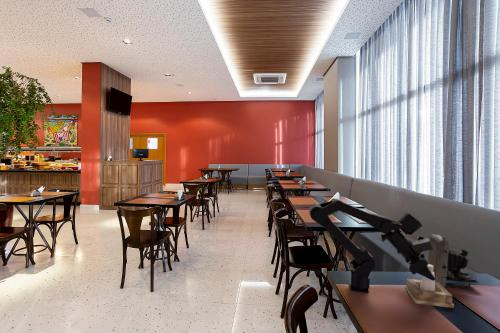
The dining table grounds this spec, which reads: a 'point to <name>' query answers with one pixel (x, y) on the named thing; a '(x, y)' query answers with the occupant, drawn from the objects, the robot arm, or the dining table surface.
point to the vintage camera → (447, 262)
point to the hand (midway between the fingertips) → (433, 277)
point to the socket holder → (429, 294)
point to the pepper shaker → (428, 281)
